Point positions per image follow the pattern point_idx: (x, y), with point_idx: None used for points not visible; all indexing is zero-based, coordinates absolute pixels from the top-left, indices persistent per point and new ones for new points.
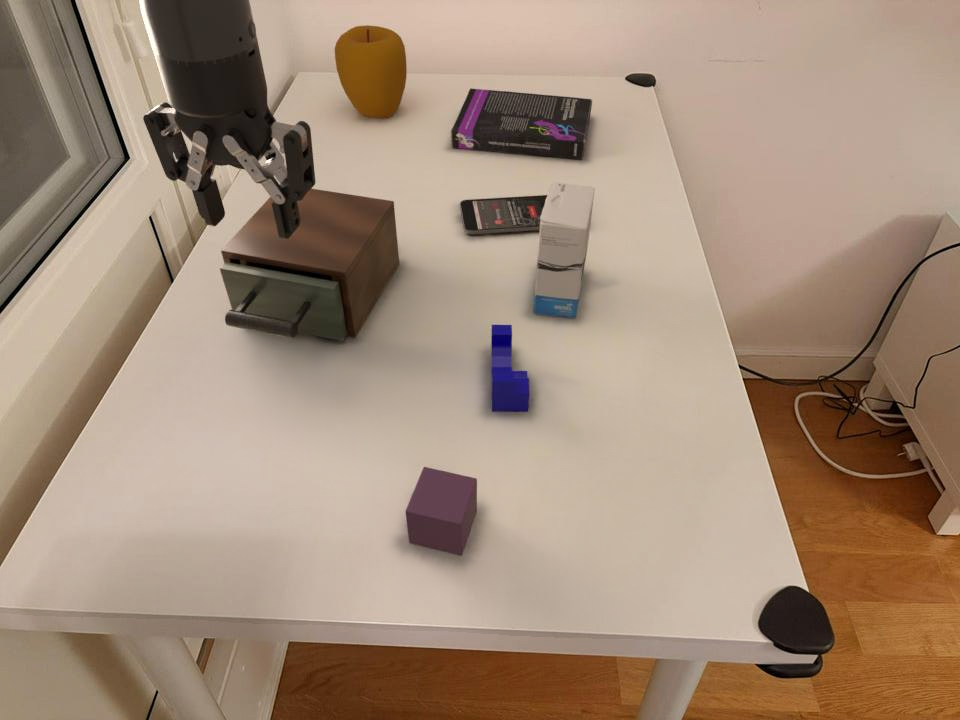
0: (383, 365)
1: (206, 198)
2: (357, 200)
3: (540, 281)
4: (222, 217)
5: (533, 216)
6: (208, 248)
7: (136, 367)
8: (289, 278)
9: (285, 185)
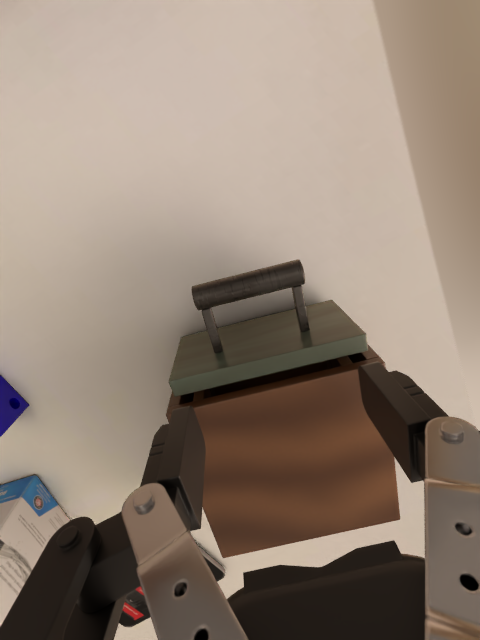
0: (119, 331)
1: (394, 414)
2: (270, 538)
3: (2, 518)
4: (362, 398)
5: (138, 587)
6: (458, 388)
7: (402, 165)
8: (247, 368)
9: (132, 555)
